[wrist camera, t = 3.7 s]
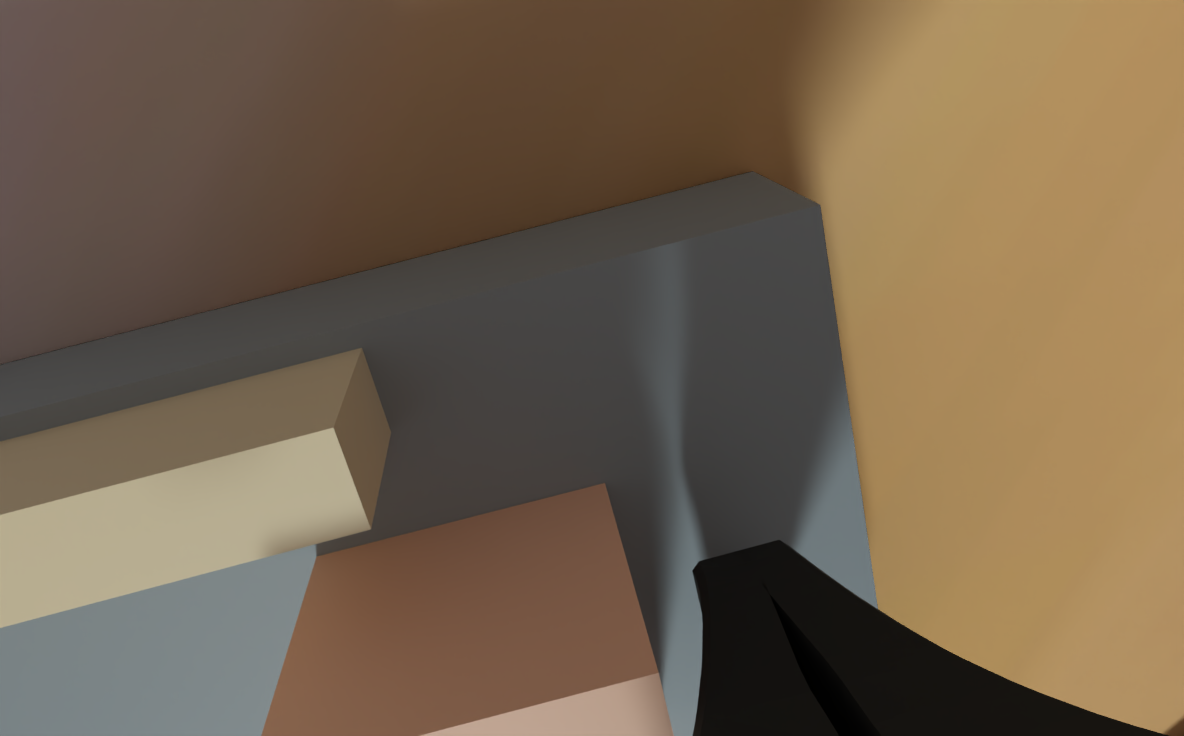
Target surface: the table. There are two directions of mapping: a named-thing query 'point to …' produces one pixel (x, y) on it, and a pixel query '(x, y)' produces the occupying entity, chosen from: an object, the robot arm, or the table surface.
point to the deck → (419, 448)
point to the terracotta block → (476, 632)
